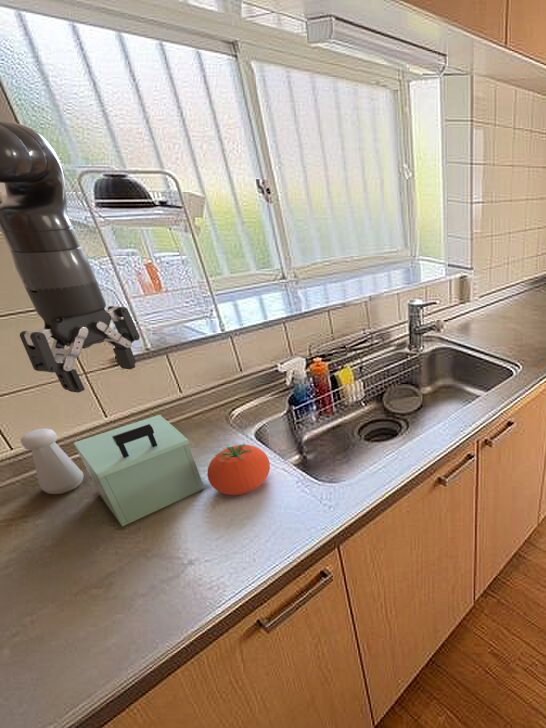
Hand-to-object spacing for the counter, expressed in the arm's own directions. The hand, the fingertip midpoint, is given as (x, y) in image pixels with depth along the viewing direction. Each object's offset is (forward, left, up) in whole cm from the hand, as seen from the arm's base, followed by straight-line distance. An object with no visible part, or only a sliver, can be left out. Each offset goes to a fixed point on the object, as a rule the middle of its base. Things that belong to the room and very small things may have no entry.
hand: (104, 379), depth 69 cm
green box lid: (0, 0, -13) cm, 13 cm away
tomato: (+12, -10, -25) cm, 30 cm away
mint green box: (0, +1, -25) cm, 25 cm away
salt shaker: (-9, +15, -25) cm, 31 cm away
